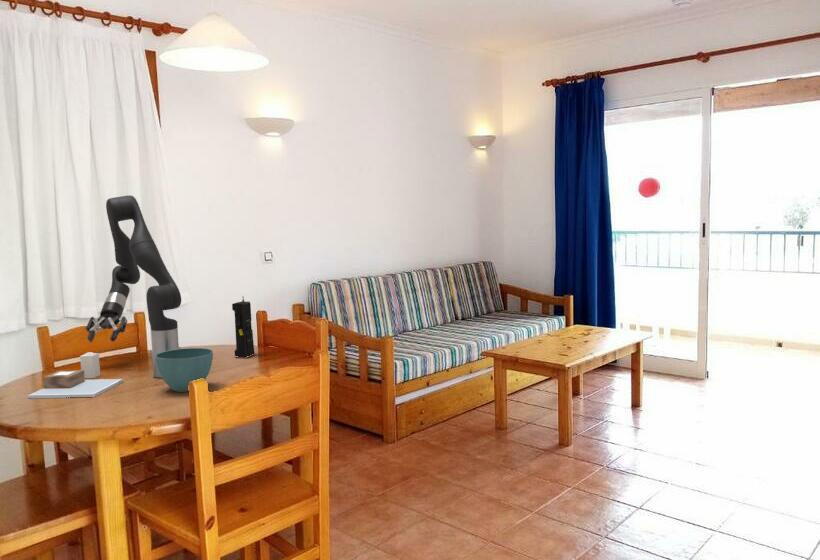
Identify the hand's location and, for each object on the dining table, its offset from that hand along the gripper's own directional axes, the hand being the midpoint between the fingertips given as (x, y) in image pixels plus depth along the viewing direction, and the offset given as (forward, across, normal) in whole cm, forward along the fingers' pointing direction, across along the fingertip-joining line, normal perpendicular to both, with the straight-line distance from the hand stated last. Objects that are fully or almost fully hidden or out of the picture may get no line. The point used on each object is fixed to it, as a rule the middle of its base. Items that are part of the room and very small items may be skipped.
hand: (101, 340), depth 242 cm
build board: (+27, +5, -10) cm, 30 cm away
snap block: (+15, 0, +2) cm, 15 cm away
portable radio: (-7, +48, +24) cm, 54 cm away
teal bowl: (+28, +43, -11) cm, 53 cm away
